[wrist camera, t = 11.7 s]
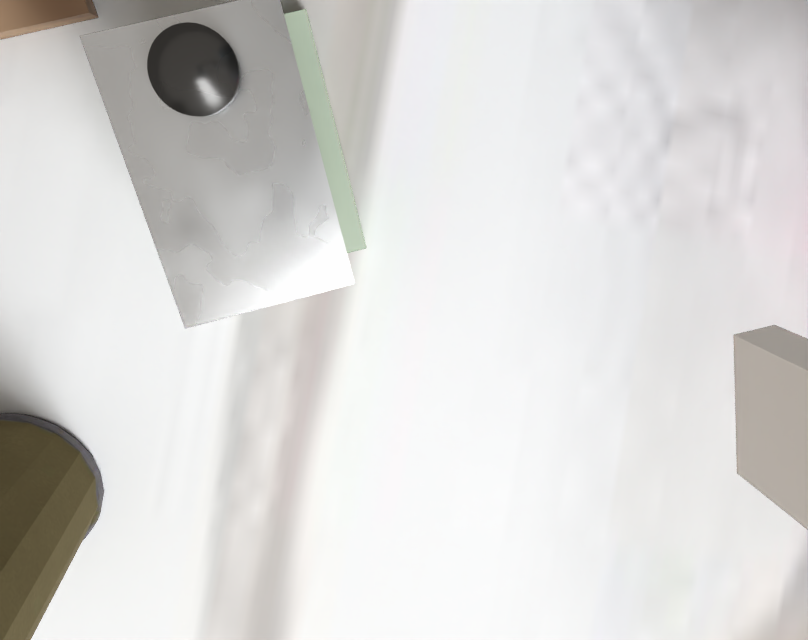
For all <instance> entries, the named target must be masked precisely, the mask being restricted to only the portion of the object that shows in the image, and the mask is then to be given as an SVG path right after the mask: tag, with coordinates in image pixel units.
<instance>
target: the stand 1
mask: <svg viewBox="0 0 808 640" xmlns="http://www.w3.org/2000/svg"><path fill="white" fill-rule="evenodd" d="M94 18H98V15H97V12H96V9H95V7H94V4H93V1H92V0H0V39H5V38H9V37H14V36H18V35H23V34H27V33H32V32H36V31H41V30H45V29H49V28H54V27H58V26H63V25H67V24H72V23H76V22H81V21H85V20H90V19H94Z"/></svg>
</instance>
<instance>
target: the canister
mask: <svg viewBox="0 0 808 640" xmlns="http://www.w3.org/2000/svg"><path fill="white" fill-rule="evenodd" d="M103 494H104V489H103V484H102V479H101V474H100V472H99V470H98V467H97V465H96V463H95V461H94V459H93V457H92V455H91V454H90V453H89V452H88V451H87V449H86V448H85V447H84V446H83V445H82V444H81V443H80V442H79V441H78V440H77V439H75V438H74V437H72V436H71V435H70V434H68V433H67V432H65V431H64V430H62V429H61V428H60V427H58V426H57V425H54V424H52V423H49V422H47V421H44V420H42V419H39V418H35V417H32V416H28V415H20V414H0V640H31V638H32V636H33V634H34V632H35V630H36V628H37V626H38V625H39V623H40V621H41V619H42V617H43V615H44V613H45V611H46V609H47V607H48V605H49V603H50V602H51V600H52V598H53V596H54V594H55V592H56V590H57V588H58V586H59V584H60V582H61V581H62V579H63V577H64V575H65V573H66V571H67V569H68V567H69V565H70V563H71V561H72V560H73V558H74V556H75V554H76V552H77V550H78V548H79V546H80V544H81V542H82V540H84V539H85V538H86V536H87V535H88V534H89V532H90V531H91V530H92V528H93V527H94V525H95V523H96V522H97V520H98V518H99V516H100V512H101V506H102V500H103Z"/></svg>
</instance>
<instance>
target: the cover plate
mask: <svg viewBox="0 0 808 640" xmlns="http://www.w3.org/2000/svg"><path fill="white" fill-rule="evenodd" d="M80 38H81V41H82V44H83V47H84V49H85V52H86V55H87V58H88V60H89V63H90V66H91V69H92V72H93V74H94V77H95V80H96V83H97V85H98V88H99V91H100V94H101V97H102V99H103V102H104V105H105V108H106V110H107V113H108V116H109V119H110V122H111V124H112V127H113V130H114V133H115V135H116V138H117V141H118V144H119V147H120V149H121V152H122V155H123V158H124V160H125V163H126V166H127V169H128V171H129V174H130V177H131V180H132V183H133V185H134V188H135V191H136V194H137V196H138V199H139V202H140V205H141V208H142V210H143V213H144V216H145V219H146V221H147V224H148V227H149V230H150V233H151V235H152V238H153V241H154V244H155V246H156V249H157V252H158V255H159V258H160V260H161V263H162V266H163V269H164V271H165V274H166V277H167V280H168V282H169V285H170V288H171V291H172V294H173V296H174V299H175V302H176V305H177V307H178V310H179V313H180V316H181V319H182V321H183V324H184V327H185V328H189V327H193V326H197V325H200V324H204V323H208V322H212V321H216V320H219V319H223V318H227V317H231V316H235V315H238V314H242V313H246V312H250V311H253V310H257V309H261V308H265V307H269V306H272V305H276V304H280V303H284V302H288V301H291V300H295V299H299V298H303V297H306V296H310V295H314V294H318V293H322V292H325V291H329V290H333V289H337V288H341V287H344V286H348V285H352V284H355V282H354V278H353V274H352V270H351V267H350V263H349V259H348V255H347V251H346V248H345V244H344V240H343V236H342V232H341V229H340V225H339V221H338V217H337V214H336V210H335V206H334V202H333V198H332V195H331V191H330V187H329V183H328V179H327V176H326V172H325V168H324V164H323V160H322V157H321V153H320V149H319V145H318V141H317V138H316V134H315V130H314V126H313V123H312V119H311V115H310V111H309V107H308V104H307V100H306V96H305V92H304V88H303V85H302V81H301V77H300V73H299V69H298V66H297V62H296V58H295V54H294V50H293V47H292V43H291V39H290V35H289V32H288V28H287V24H286V20H285V16H284V13H283V9H282V5H281V1H280V0H237V1H232V2H228V3H224V4H219V5H215V6H210V7H206V8H201V9H197V10H192V11H188V12H184V13H179V14H175V15H170V16H166V17H161V18H157V19H153V20H148V21H144V22H139V23H135V24H130V25H126V26H121V27H117V28H113V29H108V30H104V31H99V32H95V33H90V34H86V35H82V36H80Z"/></svg>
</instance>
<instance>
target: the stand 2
mask: <svg viewBox="0 0 808 640" xmlns="http://www.w3.org/2000/svg"><path fill="white" fill-rule="evenodd" d="M284 16H285V20H286V24H287V28H288V32H289V35H290V39H291V43H292V47H293V50H294V54H295V58H296V62H297V66H298V69H299V73H300V77H301V81H302V85H303V88H304V92H305V96H306V100H307V104H308V107H309V111H310V115H311V119H312V123H313V126H314V130H315V134H316V138H317V141H318V145H319V149H320V153H321V157H322V160H323V164H324V168H325V172H326V176H327V179H328V183H329V187H330V191H331V195H332V198H333V202H334V206H335V210H336V214H337V217H338V221H339V225H340V229H341V232H342V236H343V240H344V244H345V248H346V251H347V253H350V252H354V251H358V250H362V249H366V244H365V240H364V236H363V232H362V228H361V224H360V220H359V216H358V212H357V208H356V204H355V200H354V197H353V193H352V189H351V185H350V181H349V177H348V173H347V169H346V165H345V161H344V157H343V153H342V149H341V145H340V141H339V137H338V133H337V129H336V126H335V122H334V118H333V114H332V110H331V106H330V102H329V98H328V94H327V90H326V86H325V82H324V78H323V74H322V70H321V66H320V62H319V58H318V54H317V51H316V47H315V43H314V39H313V35H312V31H311V27H310V23H309V19H308V15H307V11H306V9H303V10H299V11H294V12H290V13H286V14H284Z"/></svg>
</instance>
